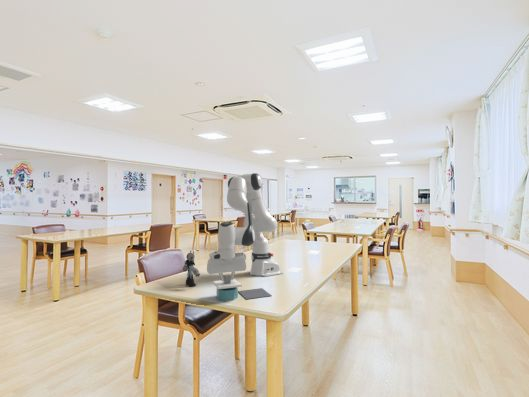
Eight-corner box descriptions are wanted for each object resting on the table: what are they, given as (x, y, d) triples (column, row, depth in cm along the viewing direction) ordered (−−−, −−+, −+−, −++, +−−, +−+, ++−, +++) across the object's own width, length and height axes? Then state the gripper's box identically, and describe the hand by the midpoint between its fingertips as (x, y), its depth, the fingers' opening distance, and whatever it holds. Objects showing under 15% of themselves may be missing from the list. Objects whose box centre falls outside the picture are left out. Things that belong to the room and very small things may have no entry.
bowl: (233, 293, 163) (233, 284, 163) (239, 299, 154) (239, 289, 154) (215, 295, 159) (215, 286, 159) (219, 301, 150) (219, 291, 150)
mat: (261, 288, 171) (261, 288, 171) (271, 296, 158) (271, 295, 158) (238, 291, 166) (238, 291, 166) (246, 299, 153) (246, 298, 153)
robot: (180, 282, 185) (179, 249, 185) (187, 281, 188) (187, 248, 188) (194, 289, 170) (193, 254, 170) (202, 288, 173) (201, 253, 173)
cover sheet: (235, 280, 164) (234, 272, 164) (241, 286, 153) (241, 277, 153) (213, 283, 160) (212, 274, 160) (218, 289, 149) (218, 280, 149)
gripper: (244, 251, 163) (244, 277, 163) (206, 254, 156) (206, 281, 156) (247, 253, 157) (248, 280, 157) (208, 256, 150) (208, 284, 150)
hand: (227, 280), depth 157 cm, fingers closed on cover sheet, 3 cm apart
